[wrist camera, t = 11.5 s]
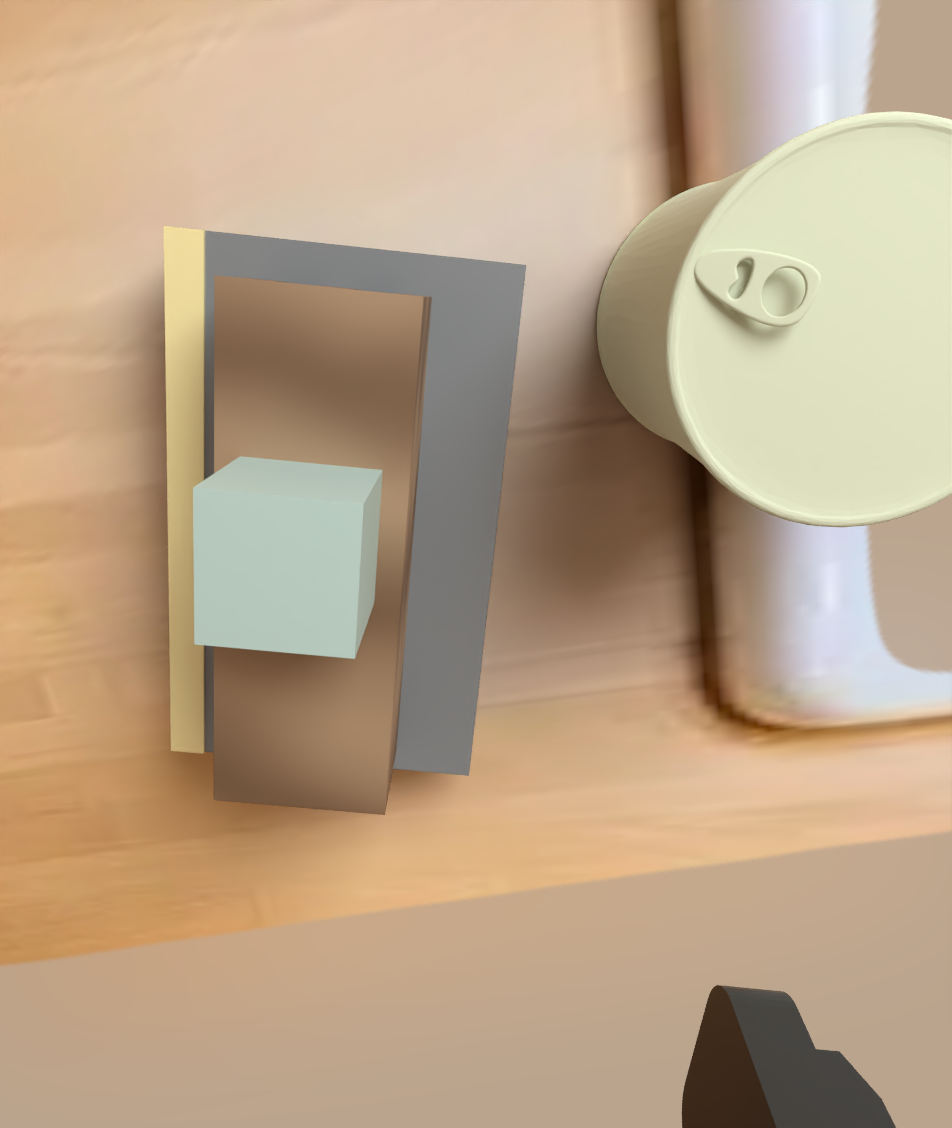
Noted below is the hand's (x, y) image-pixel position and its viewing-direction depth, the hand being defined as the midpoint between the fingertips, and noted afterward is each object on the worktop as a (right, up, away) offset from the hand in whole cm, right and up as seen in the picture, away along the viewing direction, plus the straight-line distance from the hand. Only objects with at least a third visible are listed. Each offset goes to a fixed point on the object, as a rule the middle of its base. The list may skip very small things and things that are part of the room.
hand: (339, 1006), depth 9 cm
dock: (-3, +7, +23) cm, 24 cm away
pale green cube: (-3, +6, +15) cm, 16 cm away
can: (+10, +14, +21) cm, 27 cm away
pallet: (-3, +6, +19) cm, 20 cm away
